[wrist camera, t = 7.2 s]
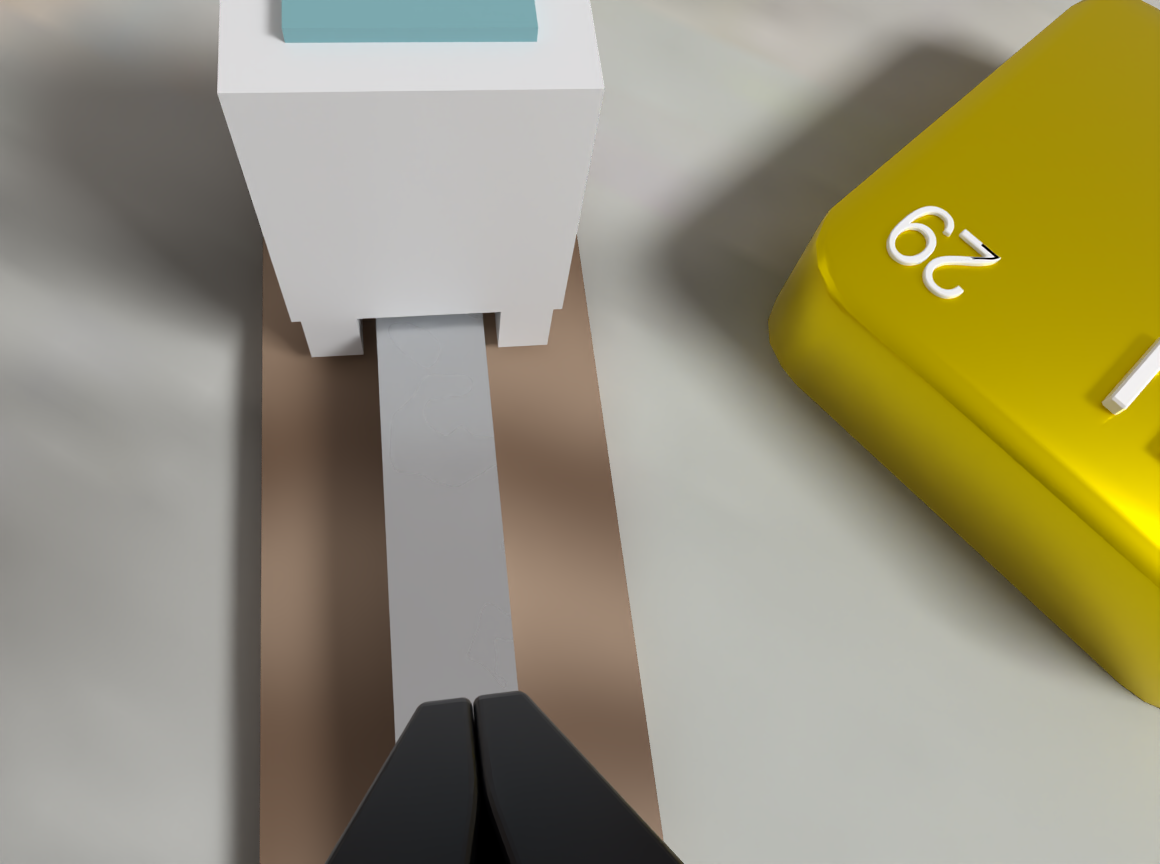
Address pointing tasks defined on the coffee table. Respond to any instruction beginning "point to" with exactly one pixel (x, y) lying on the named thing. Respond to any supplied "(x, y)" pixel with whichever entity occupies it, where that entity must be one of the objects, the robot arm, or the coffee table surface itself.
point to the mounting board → (360, 577)
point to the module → (414, 155)
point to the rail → (442, 514)
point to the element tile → (1015, 326)
